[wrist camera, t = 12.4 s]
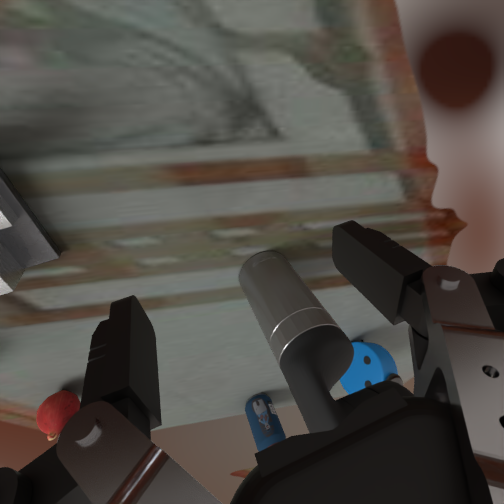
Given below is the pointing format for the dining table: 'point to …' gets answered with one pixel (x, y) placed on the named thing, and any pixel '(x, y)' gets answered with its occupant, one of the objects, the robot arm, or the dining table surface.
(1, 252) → the grey desk organizer
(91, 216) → the dining table surface
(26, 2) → the dining table surface
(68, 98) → the dining table surface
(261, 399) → the soda can
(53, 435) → the onion
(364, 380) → the alarm clock
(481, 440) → the robot arm
